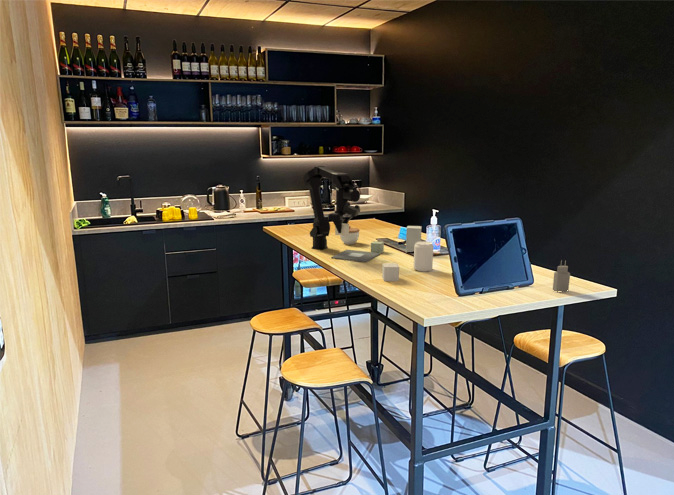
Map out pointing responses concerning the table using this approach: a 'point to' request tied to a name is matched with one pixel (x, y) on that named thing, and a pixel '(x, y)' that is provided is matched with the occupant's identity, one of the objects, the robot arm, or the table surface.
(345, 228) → the cream block
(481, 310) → the table surface
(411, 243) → the supplement box
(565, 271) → the power adapter
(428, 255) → the beverage can
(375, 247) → the sage block
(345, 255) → the mat
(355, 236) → the lidded jar
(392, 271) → the pinkish grey cube
